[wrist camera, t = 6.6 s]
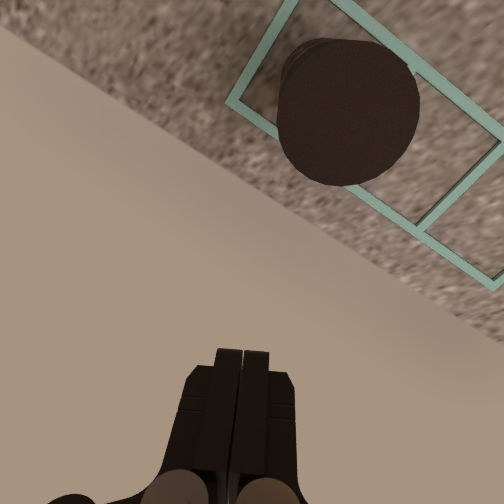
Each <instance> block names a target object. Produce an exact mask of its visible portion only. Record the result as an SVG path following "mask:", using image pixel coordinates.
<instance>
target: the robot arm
mask: <svg viewBox="0 0 504 504" xmlns="http://www.w3.org/2000/svg"><path fill="white" fill-rule="evenodd" d="M242 355H243V351H242V350H237V349H223V348H218V349H217V353H216V357H215V362H214V366H203V365H197V367H196V368H195V369H194V370H193V371H192V372H191V374H190V375H189V376H188V377H187V379H186V382H185V385H184V389H183V393H182V397H181V399H180V403H179V406H178V412H177V413H176V417H175V420H174V424H173V427H172V431H171V435H170V438H169V442H168V445H167V449H166V452H165V456H164V459H163V463H162V466H161V468H160V471H159V473H158V475H157V476H156V477H155V479H154V480H153V481H152V482H151V483H150V485H149V486H147V487H146V488H145V489H144V490H143V491H141V492H139V493H138V494H136V495H134V496H132V497H129V498H126V499H122V500H118V501H115V502H111V503H107V504H228V502H229V504H308V503H307V502H306V501H305V499H304V497H303V495H302V493H301V491H300V488H299V484H298V478H297V451H296V423H295V391H294V386H293V384H292V382H291V380H290V378H289V377H288V374H287V373H286V372H275V371H269V352H262V351H250V350H245V351H244V358H243V356H242ZM242 358H243V366H242ZM48 504H95V503H94V502H93V501H92V500H91V499H90V498H89V497H87V496H84V495H81V494H69V495H64V496H62V497H59V498H57V499H55V500H53V501H51V502H50V503H48Z"/></svg>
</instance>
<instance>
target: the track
mask: <svg viewBox="0 0 504 504" xmlns="http://www.w3.org/2000/svg"><path fill="white" fill-rule="evenodd" d="M298 1H299V0H285V1H284V3H283V4H282V6H281V8H280V9H279V11H278V13H277V14H276V16H275V18H274V20H273V21H272V23H271V25H270V26H269V28H268V30H267V31H266V33H265V35H264V37H263V38H262V40H261V42H260V43H259V45H258V47H257V48H256V50H255V52H254V54H253V55H252V57H251V59H250V60H249V62H248V64H247V65H246V67H245V69H244V71H243V72H242V74H241V76H240V77H239V79H238V81H237V82H236V84H235V86H234V88H233V89H232V91H231V93H230V94H229V96H228V98H227V99H226V101H225V104H226V105H228V106H229V107H231V108H232V109H233V110H235V111H236V112H238V113H239V114H241V115H242V116H243V117H245V118H246V119H248V120H249V121H251V122H252V123H253V124H255V125H256V126H258V127H259V128H261V129H262V130H263V131H265V132H266V133H268V134H269V135H271V136H272V137H273V138H275V139H276V140H278V141H279V136H278V129H277V126H276V125H274V124H273V123H271V122H270V121H268V120H267V119H266V118H264V117H263V116H261V115H260V114H259V113H257V112H256V111H254V110H253V109H252V108H250V107H249V106H247V105H246V104H245V103H243V102H242V101H240V100H239V98H240V97H241V95H242V93H243V92H244V90H245V89H246V87H247V85H248V84H249V82H250V80H251V79H252V77H253V75H254V74H255V72H256V70H257V69H258V67H259V65H260V64H261V62H262V60H263V59H264V57H265V55H266V54H267V52H268V50H269V49H270V47H271V46H272V44H273V42H274V41H275V39H276V37H277V36H278V34H279V32H280V31H281V29H282V27H283V26H284V24H285V22H286V21H287V19H288V17H289V16H290V14H291V12H292V11H293V9H294V7H295V6H296V4H297V2H298ZM330 1H331V2H332V3H333V4H335V5H336V6H337V7H338V8H339V9H341V10H342V11H343V12H344V13H345V14H347V15H348V16H349V17H350V18H352V19H353V20H354V21H355V22H356V23H358V24H359V25H360V26H361V27H362V28H364V29H365V30H366V31H367V32H368V33H370V34H371V35H372V36H373V37H375V38H376V39H377V40H378V41H379V42H381V43H382V44H383V45H384V46H385V47H387V48H388V49H391V50H392V51H393V52H394V53H395V54H396V55H398V56H399V57H400V58H401V59H402V60H403V61H404V62H405V63H406V64H407V66H408V68H409V69H410V71H411V73H412V74H413V75H414V74H415V73H416V72H417V73H418V74H419V75H421V76H422V77H423V78H424V79H425V80H427V81H428V82H429V83H430V84H431V85H433V86H434V87H435V88H436V89H438V90H439V91H440V92H441V93H442V94H444V95H445V96H446V97H447V98H448V99H450V100H451V101H452V102H453V103H454V104H456V105H457V106H458V107H459V108H461V109H462V110H463V111H464V112H465V113H467V114H468V115H469V116H470V117H471V118H473V119H474V120H475V121H476V122H478V123H479V124H480V125H481V126H482V127H484V128H485V129H486V130H487V131H488V132H490V133H491V134H492V135H493V136H494V137H496V138H497V139H498V140H499V142H498V143H497V144H496V145H495V146H494V147H493V148H492V149H491V150H490V151H489V152H488V153H487V154H486V155H485V156H484V157H483V158H482V159H481V160H480V161H479V162H478V163H477V164H476V165H475V166H474V167H473V168H472V169H471V170H470V171H469V172H468V173H467V174H466V175H465V176H464V177H463V178H462V179H461V180H460V181H459V182H458V183H457V184H456V185H455V186H454V187H453V188H452V189H451V190H450V191H449V192H448V193H447V194H446V195H445V196H444V197H443V198H442V199H441V200H440V201H439V202H438V203H437V204H436V205H435V206H434V207H433V208H432V209H431V210H430V211H429V212H428V213H427V214H426V215H425V216H424V217H423V218H422V219H421V220H420V221H419V222H418V223H417V224H416V225H415V224H413V223H412V222H411V221H409V220H408V219H406V218H405V217H404V216H402V215H401V214H399V213H398V212H397V211H395V210H394V209H392V208H391V207H390V206H388V205H387V204H385V203H384V202H383V201H381V200H380V199H378V198H377V197H375V196H374V195H373V194H371V193H370V192H368V191H367V190H366V189H364V188H363V187H361V186H360V185H359V184H357V185H350V186H343V187H345V188H346V189H348V190H349V191H350V192H352V193H353V194H355V195H356V196H358V197H359V198H360V199H362V200H363V201H365V202H366V203H367V204H369V205H370V206H372V207H373V208H375V209H376V210H377V211H379V212H380V213H382V214H383V215H385V216H386V217H387V218H389V219H390V220H392V221H393V222H395V223H396V224H397V225H399V226H400V227H402V228H403V229H405V230H406V231H407V232H409V233H410V234H412V235H413V236H415V237H416V238H417V239H419V240H420V241H422V242H423V243H425V244H426V245H427V246H429V247H430V248H432V249H433V250H435V251H436V252H437V253H439V254H440V255H442V256H443V257H445V258H446V259H447V260H449V261H450V262H452V263H453V264H455V265H456V266H457V267H459V268H460V269H462V270H463V271H464V272H466V273H467V274H469V275H470V276H472V277H473V278H474V279H476V280H477V281H479V282H480V283H482V284H483V285H484V286H486V287H487V288H489V289H490V290H492V291H494V290H495V289H497V288H498V287H499V286H500V285H502V284H503V283H504V270H503V271H502V272H500V273H499V274H498V275H497V276H495V277H494V278H493V279H491V278H490V277H488V276H487V275H485V274H484V273H482V272H481V271H480V270H478V269H477V268H475V267H474V266H473V265H471V264H470V263H468V262H467V261H466V260H464V259H463V258H461V257H460V256H459V255H457V254H456V253H454V252H453V251H452V250H450V249H449V248H447V247H446V246H444V245H443V244H442V243H440V242H439V241H437V240H436V239H435V238H433V237H432V236H430V235H429V234H428V233H426V232H425V231H424V230H426V229H427V228H428V227H429V226H430V225H431V224H432V223H433V222H434V221H435V220H436V219H437V218H438V217H439V216H440V215H441V214H442V213H443V212H444V211H445V210H446V209H447V208H448V207H449V206H450V205H451V204H452V203H453V202H454V201H455V200H456V199H457V198H458V197H459V196H460V195H461V194H462V193H463V192H464V191H465V190H466V189H467V188H468V187H470V186H471V185H472V184H473V183H474V182H475V181H476V180H477V179H478V178H479V177H480V176H481V175H482V174H483V173H484V172H485V171H486V170H487V169H488V168H489V167H490V166H491V165H492V164H493V163H494V162H495V161H496V160H497V159H498V158H499V157H500V156H501V155H502V154H503V153H504V127H503V126H501V125H500V124H499V123H498V122H497V121H496V120H494V119H493V118H492V117H491V116H490V115H488V114H487V113H486V112H485V111H484V110H482V109H481V108H480V107H479V106H478V105H476V104H475V103H474V102H473V101H472V100H470V99H469V98H468V97H467V96H466V95H465V94H463V93H462V92H461V91H460V90H459V89H457V88H456V87H455V86H454V85H453V84H451V83H450V82H449V81H448V80H447V79H445V78H444V77H443V76H442V75H441V74H440V73H438V72H437V71H436V70H435V69H434V68H432V67H431V66H430V65H429V64H428V63H426V62H425V61H424V60H423V59H422V58H420V57H419V56H418V55H417V54H416V53H414V52H413V51H412V50H411V49H410V48H409V47H407V46H406V45H405V44H404V43H403V42H401V41H400V40H399V39H398V38H397V37H395V36H394V35H393V34H392V33H391V32H389V31H388V30H387V29H386V28H385V27H383V26H382V25H381V24H380V23H379V22H378V21H376V20H375V19H374V18H373V17H372V16H370V15H369V14H368V13H367V12H366V11H364V10H363V9H362V8H361V7H360V6H358V5H357V4H356V3H355V2H354V1H352V0H330ZM279 142H280V141H279Z"/></svg>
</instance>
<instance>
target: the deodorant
mask: <svg viewBox="0 0 504 504" xmlns="http://www.w3.org/2000/svg"><path fill="white" fill-rule="evenodd" d="M419 109H420V96H419V92H418V88H417V84H416V80H415V78H414V76H413V74H412V73H411V71H410V69H409V68H408V66H407V64H406V63H405V62H404V61H403V60H402V59H401V58H400V57H399V56H398V55H396V54H395V53H394V52H393V51H392V50H391V49H388V48H386V47H384V46H381V45H379V44H377V43H374V42H369V41H358V40H344V39H328V38H319V39H314V40H310V41H308V42H306V43H304V44H302V45H301V46H299V47H298V48H297V49H296V50H295V51H294V52H293V53H292V54H291V56H290V57H289V59H288V60H287V62H286V64H285V66H284V69H283V72H282V77H281V86H280V95H279V104H278V113H277V129H278V136H279V141H280V143H281V146H282V148H283V151H284V153H285V155H286V157H287V158H288V159H289V161H290V162H291V163H292V164H293V166H294V167H295V168H296V169H297V170H298V171H299V172H301V173H302V174H304V175H305V176H306V177H308V178H309V179H311V180H314V181H316V182H319V183H322V184H324V185H332V186H341V187H342V186H350V185H357V184H361V183H363V182H366V181H369V180H371V179H374V178H376V177H377V176H379V175H380V174H382V173H383V172H385V171H386V170H388V169H389V168H391V167H392V166H393V165H394V164H395V162H396V161H397V160H398V159H399V158H400V157H401V156H402V155H403V154H404V152H405V151H406V149H407V147H408V145H409V144H410V142H411V140H412V138H413V136H414V134H415V130H416V127H417V123H418V120H419Z"/></svg>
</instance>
